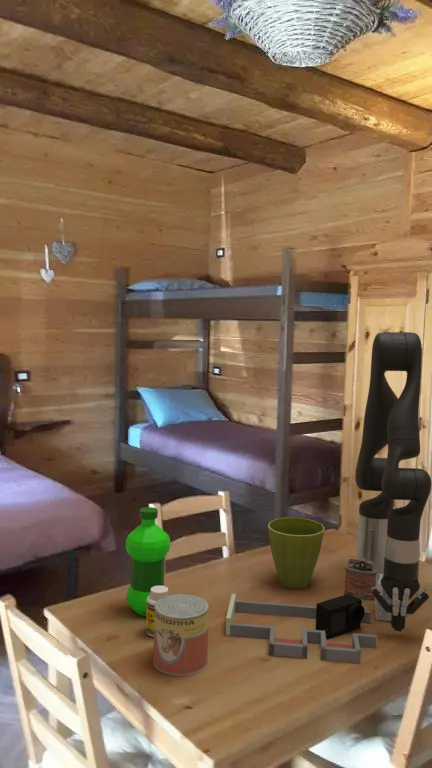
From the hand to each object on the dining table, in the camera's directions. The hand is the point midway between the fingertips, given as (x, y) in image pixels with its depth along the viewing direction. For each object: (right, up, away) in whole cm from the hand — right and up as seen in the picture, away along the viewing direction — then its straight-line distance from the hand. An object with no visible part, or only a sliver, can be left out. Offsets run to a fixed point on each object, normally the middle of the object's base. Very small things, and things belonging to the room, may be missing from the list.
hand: (397, 629), depth 148 cm
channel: (-22, -1, -1) cm, 22 cm away
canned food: (-49, -2, -13) cm, 50 cm away
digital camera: (-13, -1, +2) cm, 13 cm away
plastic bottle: (-58, +1, +9) cm, 59 cm away
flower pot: (-20, +2, +28) cm, 34 cm away
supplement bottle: (-54, 0, -1) cm, 54 cm away
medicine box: (0, -1, +11) cm, 11 cm away
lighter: (-4, 0, +21) cm, 21 cm away
